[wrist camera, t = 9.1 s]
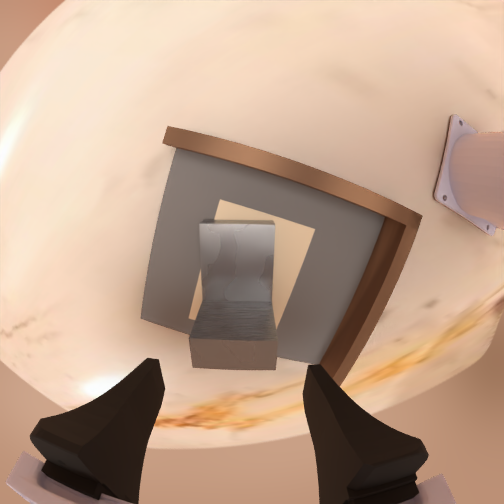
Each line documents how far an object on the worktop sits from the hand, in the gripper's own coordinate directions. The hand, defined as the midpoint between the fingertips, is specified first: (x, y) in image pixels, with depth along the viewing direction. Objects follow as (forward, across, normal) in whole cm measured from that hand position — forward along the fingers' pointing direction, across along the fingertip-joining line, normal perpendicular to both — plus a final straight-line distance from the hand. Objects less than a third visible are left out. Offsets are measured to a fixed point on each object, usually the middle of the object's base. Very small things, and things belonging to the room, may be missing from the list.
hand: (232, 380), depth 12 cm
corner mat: (+8, -2, -3) cm, 9 cm away
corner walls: (+8, -2, -3) cm, 9 cm away
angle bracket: (+8, 0, -3) cm, 8 cm away
